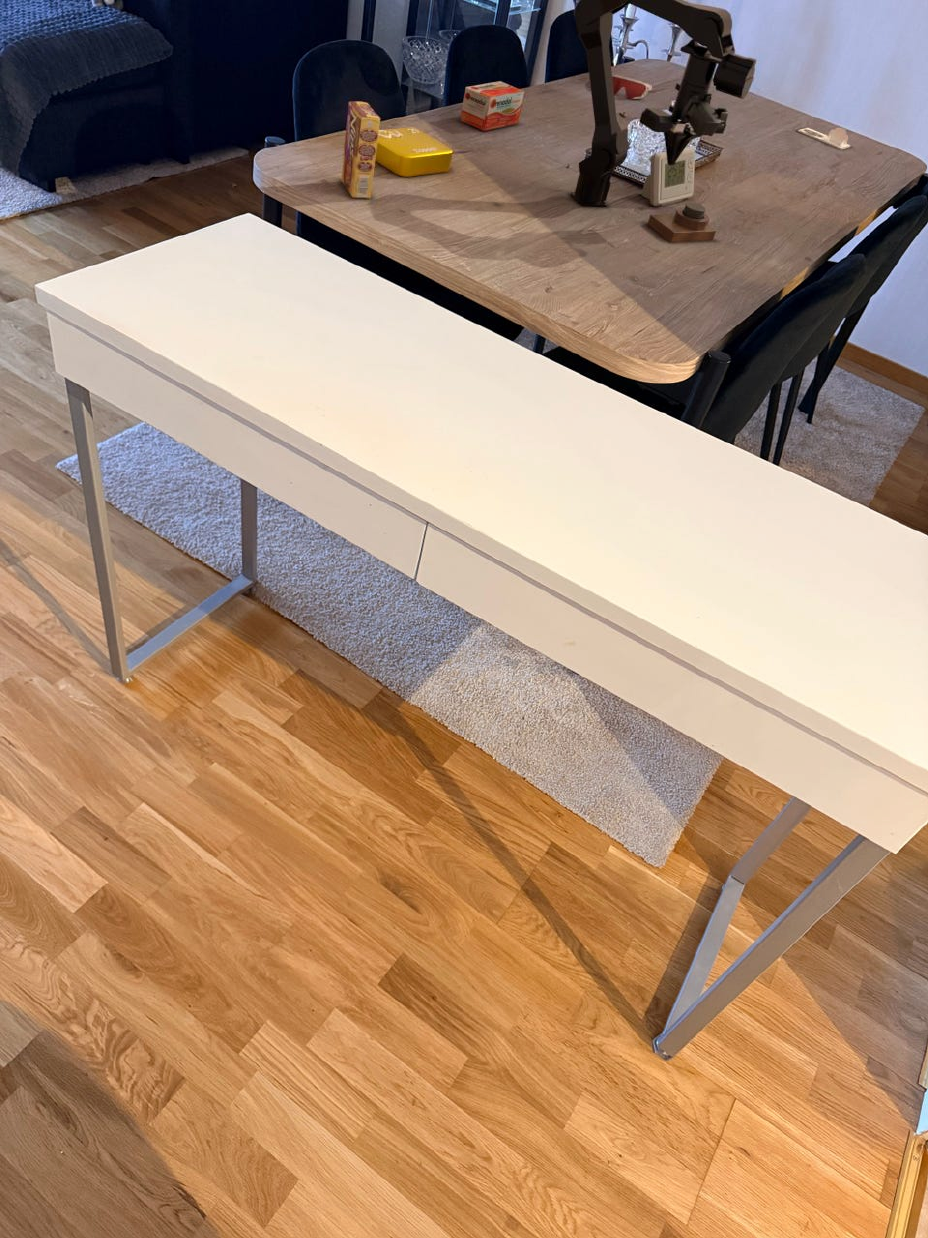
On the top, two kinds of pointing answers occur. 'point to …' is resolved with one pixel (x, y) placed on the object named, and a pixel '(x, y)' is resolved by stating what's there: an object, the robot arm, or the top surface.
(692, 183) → the digital clock
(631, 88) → the sunglasses
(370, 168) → the candy box
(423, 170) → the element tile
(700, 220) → the button box
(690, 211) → the button
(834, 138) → the white stand
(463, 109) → the medicine box
